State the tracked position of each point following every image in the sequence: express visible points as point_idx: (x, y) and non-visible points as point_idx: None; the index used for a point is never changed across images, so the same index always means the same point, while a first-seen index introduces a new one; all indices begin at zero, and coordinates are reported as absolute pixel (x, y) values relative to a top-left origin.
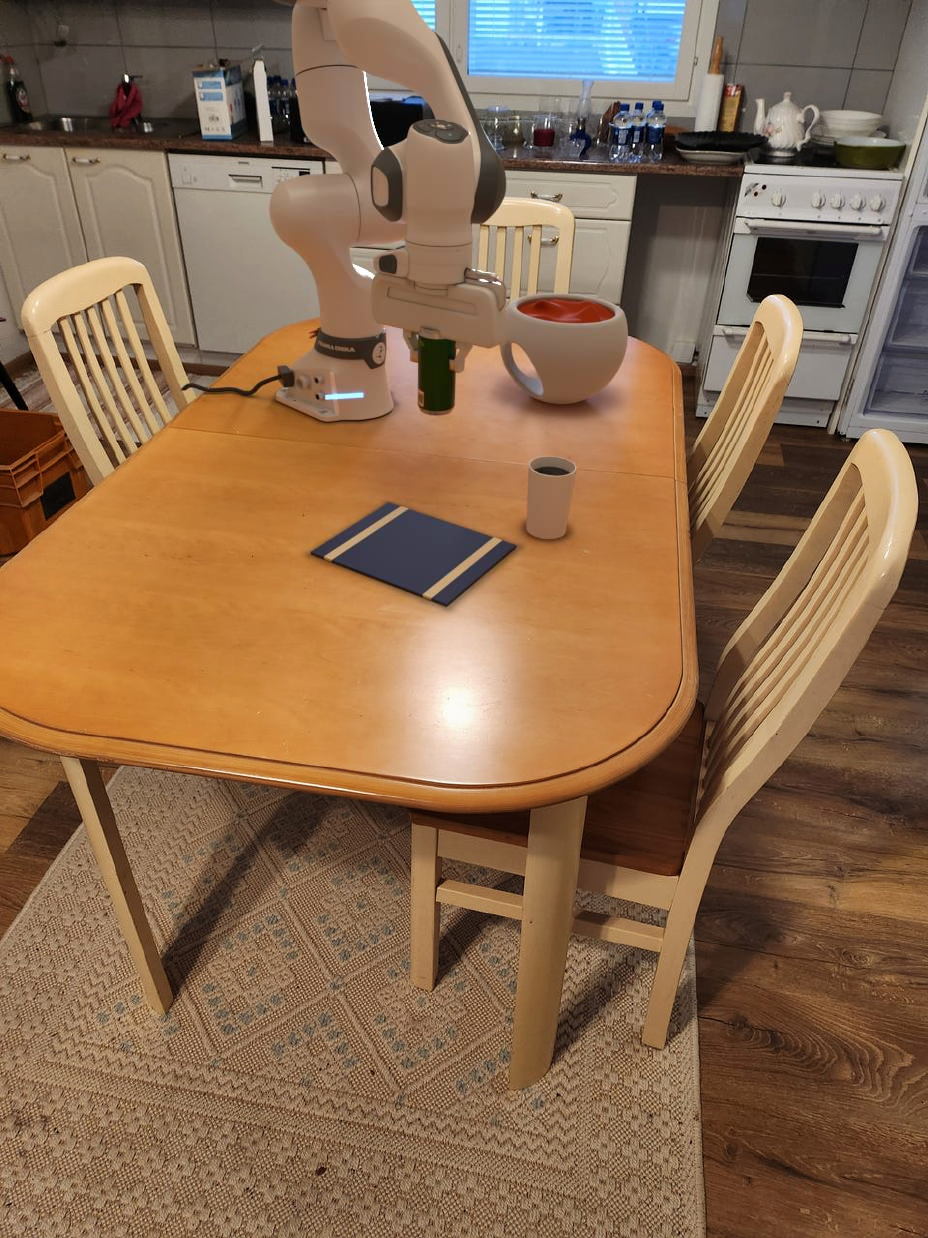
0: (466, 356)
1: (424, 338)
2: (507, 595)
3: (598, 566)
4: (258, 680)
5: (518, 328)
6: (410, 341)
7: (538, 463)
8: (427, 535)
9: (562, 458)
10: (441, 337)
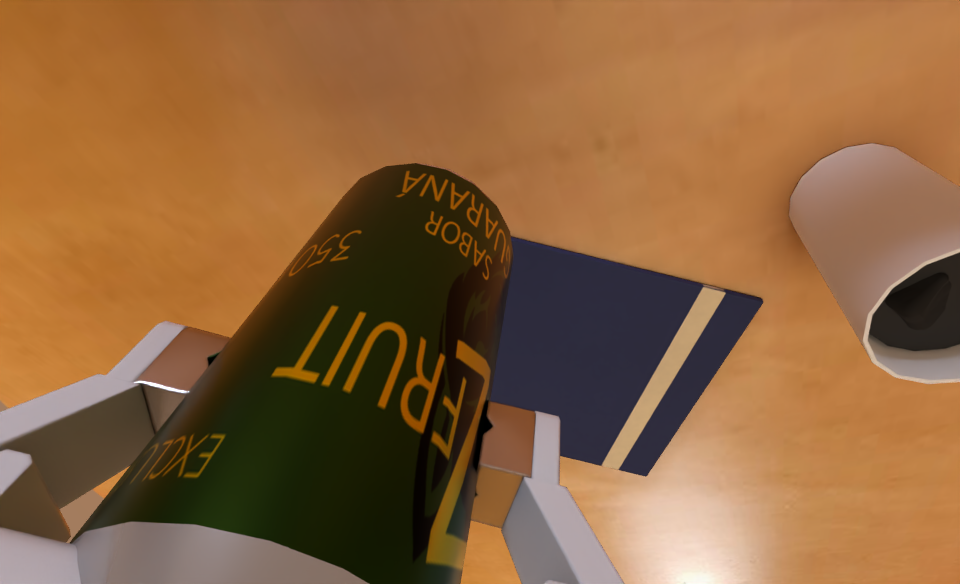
0: (574, 502)
1: None
2: (747, 434)
3: None
4: (475, 581)
5: None
6: (82, 485)
7: (905, 257)
8: (548, 319)
9: None
10: None
